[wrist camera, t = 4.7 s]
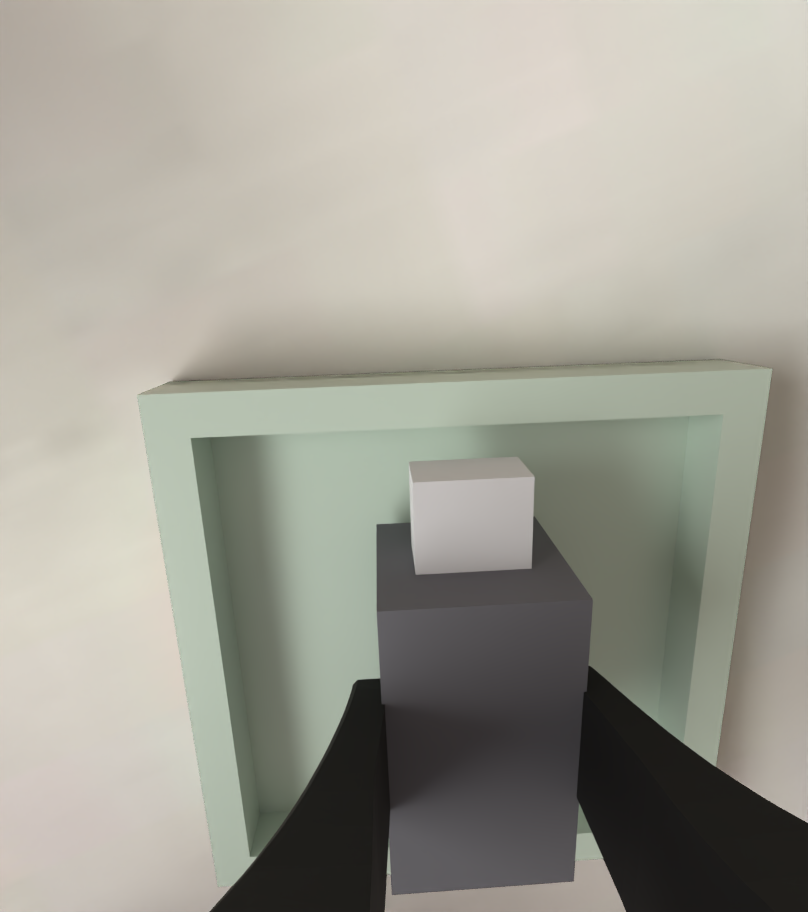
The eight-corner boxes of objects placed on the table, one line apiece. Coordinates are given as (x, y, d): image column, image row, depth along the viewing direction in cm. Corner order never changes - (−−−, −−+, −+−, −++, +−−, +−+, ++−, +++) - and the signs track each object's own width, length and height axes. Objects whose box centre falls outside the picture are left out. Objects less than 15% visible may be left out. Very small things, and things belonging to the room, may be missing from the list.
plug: (526, 741, 16) (573, 881, 12) (388, 750, 16) (392, 894, 12) (537, 439, 14) (600, 497, 10) (372, 447, 14) (370, 509, 10)
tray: (669, 793, 18) (703, 851, 16) (235, 823, 18) (217, 886, 16) (719, 359, 15) (772, 368, 13) (169, 381, 14) (137, 394, 12)
